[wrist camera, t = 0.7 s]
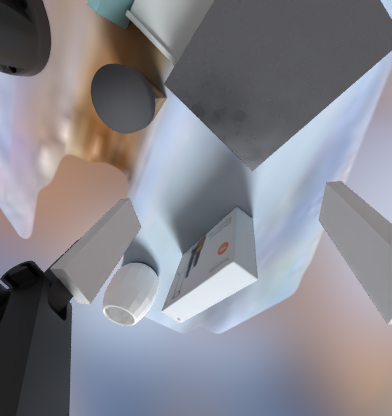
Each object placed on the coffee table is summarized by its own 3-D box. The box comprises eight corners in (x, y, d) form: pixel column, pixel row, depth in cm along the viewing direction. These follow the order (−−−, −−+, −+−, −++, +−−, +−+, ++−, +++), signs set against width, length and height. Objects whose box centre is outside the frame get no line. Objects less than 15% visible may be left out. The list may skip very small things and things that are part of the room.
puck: (94, 104, 26) (82, 105, 24) (117, 50, 23) (105, 46, 21) (138, 141, 28) (130, 145, 26) (166, 97, 24) (159, 97, 22)
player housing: (180, 86, 29) (163, 84, 23) (277, -62, 21) (297, -138, 14) (249, 155, 33) (252, 171, 26) (357, 54, 24) (403, 39, 17)
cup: (158, 291, 60) (140, 336, 49) (120, 276, 60) (93, 319, 49) (167, 266, 53) (149, 313, 42) (124, 250, 53) (94, 292, 41)
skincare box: (234, 203, 39) (234, 261, 25) (253, 218, 40) (263, 281, 26) (180, 254, 50) (159, 313, 36) (196, 265, 51) (182, 326, 37)
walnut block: (131, 101, 32) (108, 102, 26) (144, 76, 30) (122, 72, 24) (152, 120, 33) (134, 126, 27) (166, 98, 31) (150, 98, 25)
